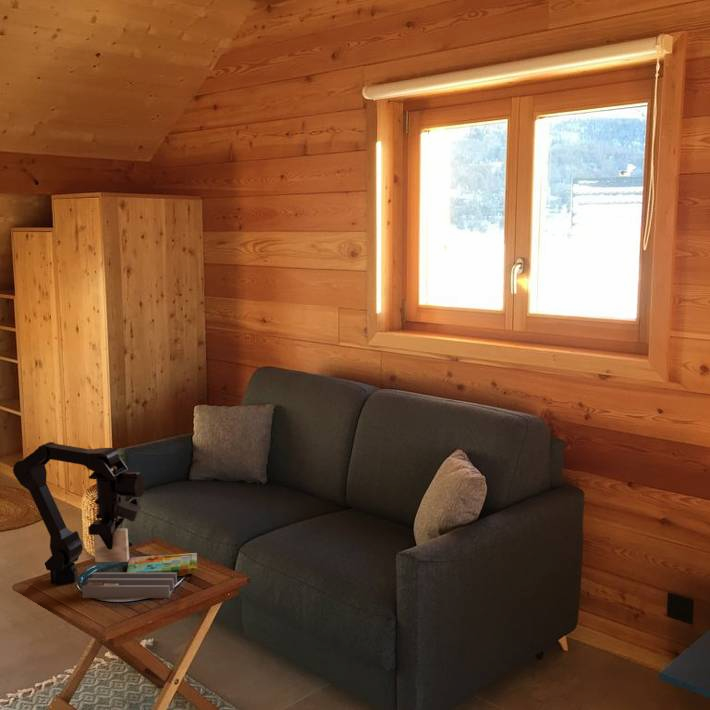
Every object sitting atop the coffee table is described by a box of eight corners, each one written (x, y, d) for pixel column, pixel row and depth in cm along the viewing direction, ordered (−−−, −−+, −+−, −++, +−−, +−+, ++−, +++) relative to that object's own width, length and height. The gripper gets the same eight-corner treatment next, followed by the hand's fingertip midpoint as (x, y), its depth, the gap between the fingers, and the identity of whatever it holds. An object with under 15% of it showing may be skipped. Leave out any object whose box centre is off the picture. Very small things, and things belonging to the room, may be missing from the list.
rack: (82, 602, 242) (81, 587, 241) (93, 587, 252) (92, 572, 251) (169, 602, 241) (168, 587, 241) (177, 587, 251) (176, 572, 251)
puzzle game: (129, 555, 264) (196, 550, 267) (129, 570, 264) (197, 564, 268) (126, 571, 252) (197, 565, 256) (127, 586, 253) (197, 580, 257)
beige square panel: (95, 561, 246) (93, 531, 245) (97, 559, 248) (95, 528, 247) (127, 561, 246) (125, 531, 245) (129, 558, 248) (127, 528, 247)
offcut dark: (86, 594, 244) (85, 585, 243) (88, 590, 246) (88, 582, 246) (100, 594, 244) (100, 585, 243) (103, 590, 246) (102, 582, 245)
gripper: (127, 505, 235) (130, 560, 237) (145, 483, 253) (148, 535, 256) (85, 505, 235) (89, 560, 237) (107, 483, 253) (110, 535, 256)
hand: (111, 547), depth 247 cm, fingers closed on beige square panel, 2 cm apart
